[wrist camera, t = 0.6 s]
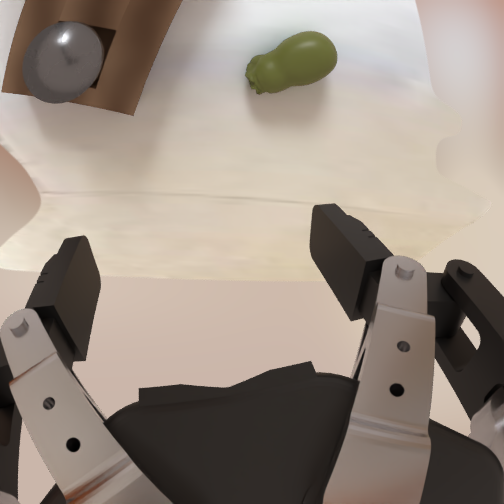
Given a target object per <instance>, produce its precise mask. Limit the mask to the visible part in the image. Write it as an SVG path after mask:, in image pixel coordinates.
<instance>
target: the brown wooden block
mask: <svg viewBox="0 0 504 504" xmlns="http://www.w3.org/2000/svg"><path fill="white" fill-rule="evenodd" d="M181 2H182V0H26V1H25V4H24V6H23V9H22V12H21V15H20V18H19V21H18V24H17V28H16V31H15V34H14V38H13V42H12V45H11V49H10V53H9V57H8V61H7V66H6V71H5V75H4V81H3V86H2V92H5V93H13V94H21V95H28V96H34V95H33V94H32V93H31V92H30V91H29V89H28V88H27V86H26V84H25V82H24V78H23V72H22V66H23V59H24V56H25V53H26V50H27V48H28V46H29V45H30V43H31V42H32V40H33V39H34V38H35V37H36V36H37V35H38V34H39V33H40V32H41V31H42V30H44V29H45V28H47V27H49V26H51V25H53V24H56V23H59V22H66V21H77V22H82V23H84V24H87V25H88V26H90V27H91V28H93V29H94V30H95V31H96V32H97V34H98V35H99V37H100V39H101V41H102V44H103V49H104V59H103V64H102V68H101V70H100V73H99V75H98V77H97V78H96V80H95V81H94V82H93V84H92V85H91V86H90V87H89V88H88V89H87V90H86V91H85V92H84V93H82V94H81V95H80V96H78V97H77V98H75V99H73V100H70V101H67V102H72V103H77V104H82V105H87V106H92V107H97V108H102V109H106V110H111V111H115V112H120V113H124V114H128V115H132V116H134V113H135V110H136V107H137V104H138V101H139V99H140V96H141V93H142V90H143V88H144V85H145V82H146V80H147V77H148V75H149V72H150V70H151V67H152V65H153V62H154V60H155V58H156V55H157V53H158V51H159V48H160V46H161V44H162V41H163V39H164V37H165V35H166V33H167V31H168V28H169V26H170V24H171V22H172V20H173V18H174V16H175V14H176V12H177V10H178V8H179V6H180V4H181Z"/></svg>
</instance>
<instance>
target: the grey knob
mask: <svg viewBox="0 0 504 504" xmlns="http://www.w3.org/2000/svg"><path fill="white" fill-rule="evenodd" d="M103 59H104V49H103V44H102V41H101V39H100V37H99V35H98V34H97V32H96V31H95V30H94V29H93V28H91V27H90V26H88V25H87V24H84V23H82V22H77V21H66V22H59V23H56V24H53V25H51V26H49V27H47V28H45V29H44V30H42V31H41V32H40V33H39V34H38V35H37V36H36V37H35V38H34V39H33V40H32V42H31V43H30V45H29V46H28V48H27V50H26V53H25V56H24V59H23V66H22V72H23V78H24V82H25V84H26V86H27V88H28V89H29V91H30V92H31V93H32V94H33V95H34V96H35V97H36V98H38V99H40V100H42V101H44V102H48V103H64V102H67V101H70V100H73V99H75V98H77V97H78V96H80V95H81V94H82V93H84V92H85V91H86V90H87V89H88V88H89V87H90V86H91V85H92V84H93V82H94V81H95V80H96V78H97V77H98V75H99V73H100V70H101V68H102V64H103Z"/></svg>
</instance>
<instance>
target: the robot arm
mask: <svg viewBox="0 0 504 504" xmlns="http://www.w3.org/2000/svg"><path fill="white" fill-rule="evenodd" d="M310 253H311V256H312V259H313V261H314V262H315V264H316V265H317V267H318V269H319V270H320V272H321V273H322V275H323V276H324V278H325V280H326V281H327V283H328V284H329V286H330V288H331V289H332V291H333V293H334V294H335V296H336V298H337V299H338V301H339V302H340V304H341V306H342V307H343V309H344V311H345V312H346V314H347V316H348V317H349V319H350V321H354V320H358V319H362V318H364V319H365V321H366V324H365V327H364V330H363V334H362V338H361V342H360V346H359V349H358V353H357V357H356V360H355V364H354V367H353V370H352V374H351V377H350V378H349V377H345V376H342V375H337V374H332V373H321V372H319V373H318V372H317V373H316V372H315V369H314V367H313V365H312V362H311V361H309V362H304V363H300V364H296V365H292V366H286V367H282V368H277V369H272V370H269V371H267V372H264V373H262V374H260V375H257V376H255V377H253V378H250V379H248V380H246V381H243V382H241V383H238V384H236V385H234V386H231V387H226V388H219V387H205V386H193V385H183V384H179V385H171V386H160V387H150V388H139V401H138V402H135V403H132V404H130V405H128V406H125V407H124V408H122V409H120V410H119V411H117V412H116V413H114V414H113V415H112V416H110V417H109V418H108V419H107V418H106V416H105V415H104V414H103V413H102V411H101V410H100V409H99V407H98V406H97V405H96V403H95V402H94V400H93V399H92V398H91V396H90V395H89V394H88V392H87V391H86V389H85V388H84V386H83V385H82V383H81V382H80V380H79V379H78V377H77V376H76V374H75V373H74V371H73V370H72V365H73V362H74V361H86V356H87V350H88V345H89V339H90V334H91V329H92V324H93V319H94V314H95V310H96V305H97V301H98V297H99V293H100V288H101V281H100V274H99V271H98V268H97V265H96V262H95V259H94V256H93V253H92V250H91V247H90V244H89V241H88V239H87V237H86V236H84V235H83V236H78V237H72V238H66V239H65V240H64V241H63V243H62V245H61V247H60V249H59V251H58V253H57V254H54V255H53V256H52V258H51V259H50V260H49V261H48V262H47V263H46V264H45V266H44V268H43V270H42V272H41V276H39V278H38V280H37V284H35V286H34V288H33V291H32V293H31V295H30V297H29V300H28V302H27V304H26V307H25V309H21V310H18V311H16V312H14V313H13V314H11V315H10V316H9V317H8V318H7V319H6V320H5V322H4V323H3V325H2V327H1V329H0V504H20V503H19V502H18V459H19V445H20V433H21V425H22V419H23V421H24V423H25V425H26V428H27V430H28V431H29V434H30V436H31V438H32V440H33V442H34V444H35V446H36V448H37V450H38V452H39V454H40V455H41V457H42V459H43V461H44V463H45V464H46V466H47V468H48V470H49V472H50V473H51V475H52V477H53V478H54V480H55V482H56V484H55V485H54V486H53V488H52V489H51V490H50V491H49V492H48V494H47V495H46V496H45V498H44V499H43V500H42V502H41V503H40V504H504V297H503V296H502V295H501V294H500V292H499V291H498V290H497V289H496V288H495V287H494V286H493V285H492V284H491V283H490V281H489V280H488V279H487V278H486V277H485V276H484V275H483V274H482V273H481V272H480V271H479V270H478V269H477V268H476V267H475V266H473V265H472V264H470V263H468V262H466V261H463V260H456V259H455V260H451V261H449V262H448V263H447V265H446V268H445V270H444V273H429V272H426V271H425V269H424V267H423V266H422V265H421V264H420V263H418V262H417V261H415V260H413V259H411V258H408V257H405V256H394V255H393V254H392V253H391V252H390V251H389V250H388V249H387V247H386V246H385V245H384V244H383V243H382V242H381V241H380V240H379V239H378V238H377V237H375V235H374V234H373V233H372V232H371V231H369V229H368V228H367V227H366V226H365V225H364V224H363V223H362V222H361V221H359V220H358V219H356V218H354V217H352V216H350V215H346V214H345V212H344V211H343V210H342V209H341V208H340V207H339V206H338V205H336V204H335V203H333V204H323V205H315V206H314V207H313V211H312V221H311V233H310ZM466 316H467V317H468V318H469V320H470V321H471V322H472V323H473V325H474V326H475V327H476V329H477V330H478V332H479V334H480V340H481V341H480V346H479V348H478V349H477V350H476V348H475V347H474V345H473V344H472V342H471V341H470V340H469V338H468V337H467V335H466V334H465V333H464V331H463V330H462V328H461V327H460V326H461V324H462V323H463V320H464V319H465V317H466ZM434 358H435V359H436V360H437V362H438V364H439V366H440V367H441V369H442V371H443V372H444V374H445V375H446V377H447V379H448V381H449V383H450V384H451V386H452V388H453V390H454V391H455V393H456V395H457V397H458V398H459V400H460V402H461V404H462V406H463V407H464V409H465V411H466V413H467V415H468V417H469V418H470V421H471V426H470V427H471V433H470V434H469V436H468V437H467V436H464V435H463V434H460V433H458V432H456V431H454V430H452V429H450V428H448V427H446V426H443V425H442V424H440V423H438V422H435V421H433V420H431V419H430V418H429V416H430V408H431V399H432V388H433V387H432V386H433V376H434Z"/></svg>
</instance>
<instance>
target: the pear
mask: <svg viewBox="0 0 504 504" xmlns="http://www.w3.org/2000/svg"><path fill="white" fill-rule="evenodd" d="M336 63H337V52H336V49H335V46H334V45H333V43H332V42H331V40H330V39H329V38H328V37H326V36H325V35H323V34H321V33H319V32H314V31H306V32H301V33H298V34H296V35H293V36H291V37H289V38H287V39H286V40H284V41H283V42H282V43H281V44H279V46H278V47H277V48H276V49H274V50H273V51H271V52H269V53H267V54H265V55H258V56H255V57H254V58H253V59H252V60H251V62H250V63H249V64H248V65H247V69H246V71H247V72H246V74H245V76H246V77H247V78H248V79H249V83H250V86H251V87H250V88H251V89H256V93H257V94H259V95H260V94H262V93H264V92H268V93H277V92H280V91H283V90H285V89H287V88H289V87H291V86H303V85H308V84H312V83H314V82H316V81H318V80H320V79H322V78H324V77H325V76H327V75H328V74H329V73H330V72H331V71H332V70H333V69H334V67H335V66H336ZM253 87H254V88H253Z"/></svg>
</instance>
